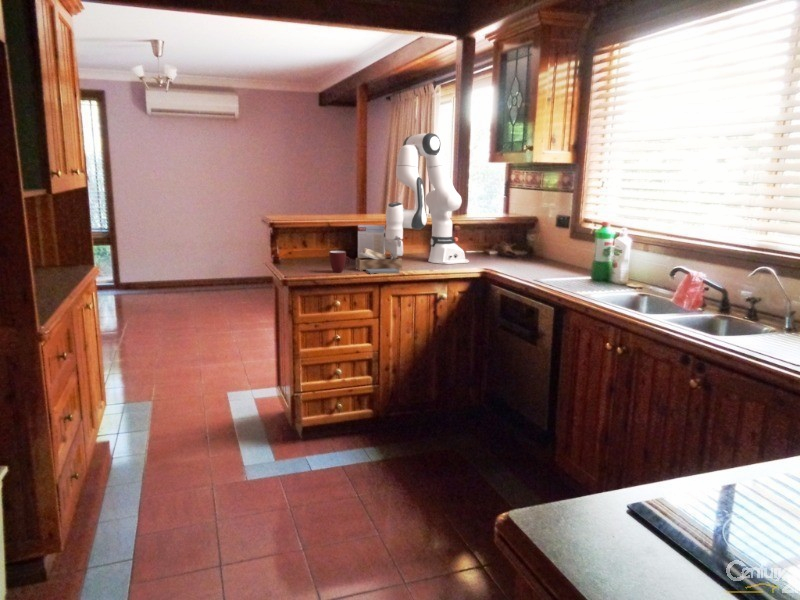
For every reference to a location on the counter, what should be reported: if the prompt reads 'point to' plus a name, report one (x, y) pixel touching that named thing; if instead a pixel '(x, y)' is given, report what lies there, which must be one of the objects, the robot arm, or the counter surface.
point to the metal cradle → (368, 255)
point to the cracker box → (371, 239)
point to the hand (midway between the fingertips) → (393, 262)
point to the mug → (338, 260)
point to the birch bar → (374, 253)
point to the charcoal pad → (382, 270)
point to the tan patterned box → (378, 263)
